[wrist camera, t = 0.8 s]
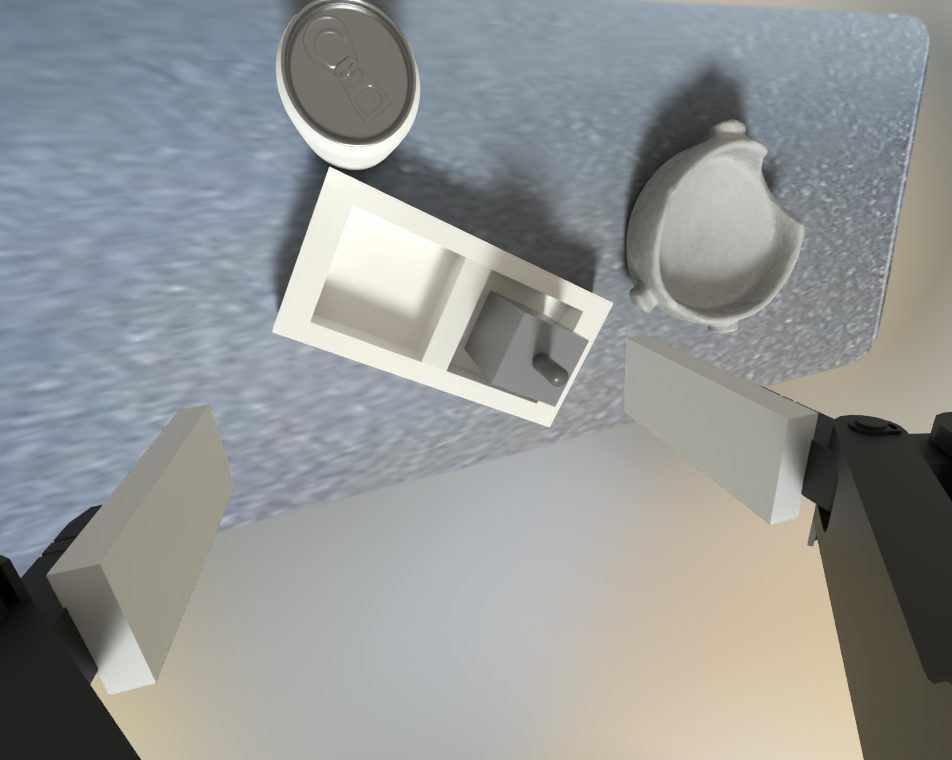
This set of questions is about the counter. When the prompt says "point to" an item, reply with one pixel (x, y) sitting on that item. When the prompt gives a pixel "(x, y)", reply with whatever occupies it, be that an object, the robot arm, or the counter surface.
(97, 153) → the counter surface
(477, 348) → the seated block
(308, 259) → the white flat tray
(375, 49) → the can
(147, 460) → the robot arm
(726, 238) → the dish
